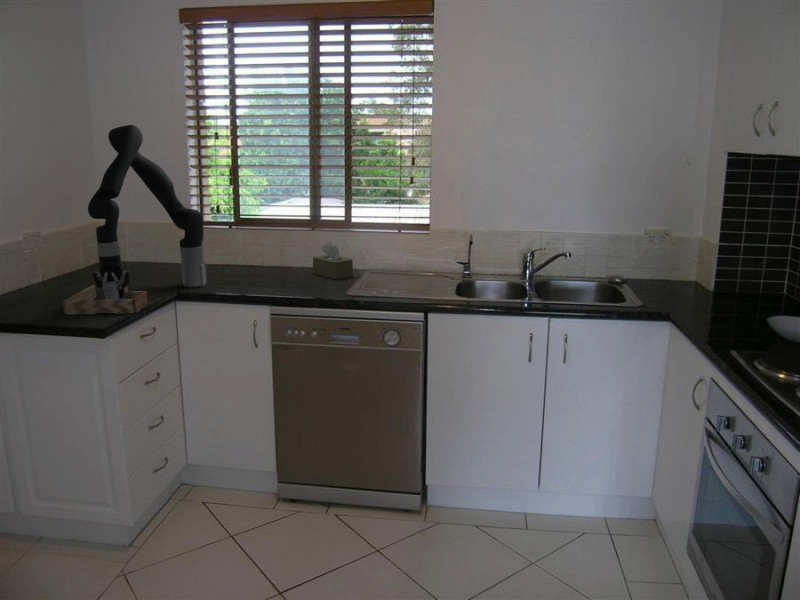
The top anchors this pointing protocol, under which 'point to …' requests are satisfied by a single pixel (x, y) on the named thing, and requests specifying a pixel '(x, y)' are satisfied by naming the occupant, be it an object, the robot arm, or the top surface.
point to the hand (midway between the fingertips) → (114, 298)
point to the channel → (104, 302)
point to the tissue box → (332, 264)
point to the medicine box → (111, 290)
